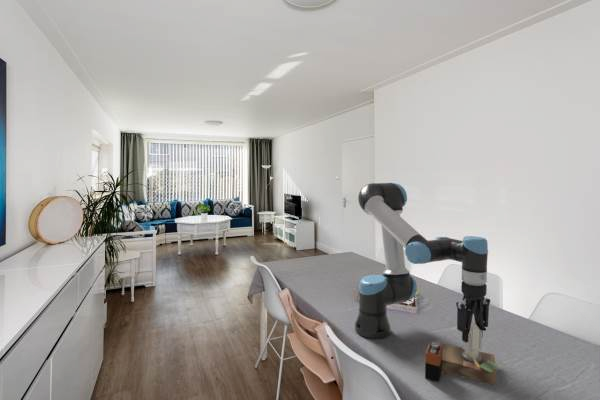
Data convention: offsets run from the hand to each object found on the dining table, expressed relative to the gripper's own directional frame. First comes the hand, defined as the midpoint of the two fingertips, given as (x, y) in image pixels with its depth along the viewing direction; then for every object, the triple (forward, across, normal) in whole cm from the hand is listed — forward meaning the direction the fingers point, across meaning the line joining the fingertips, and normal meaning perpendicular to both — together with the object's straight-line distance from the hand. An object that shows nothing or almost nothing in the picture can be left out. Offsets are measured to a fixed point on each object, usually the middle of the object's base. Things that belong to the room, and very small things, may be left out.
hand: (472, 348), depth 110 cm
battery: (+8, -15, +2) cm, 17 cm away
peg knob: (+3, -1, -1) cm, 4 cm away
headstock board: (+7, -2, +2) cm, 8 cm away
